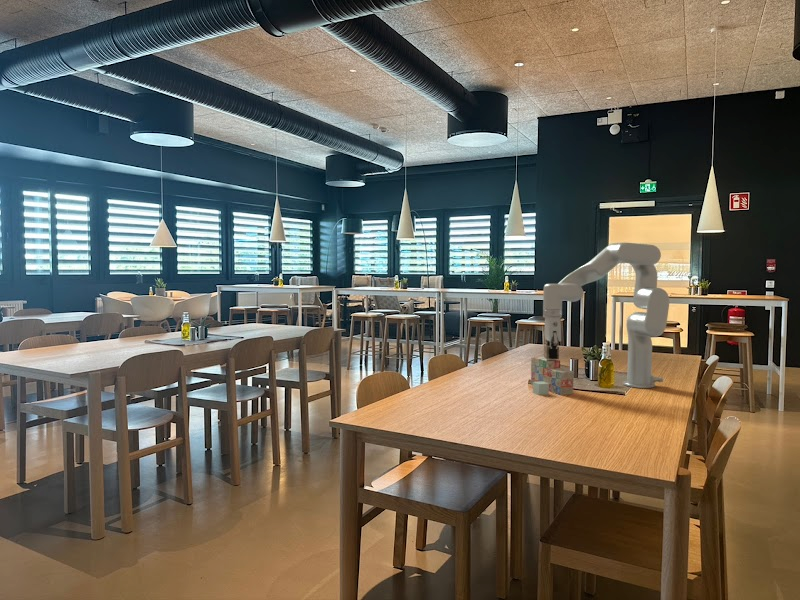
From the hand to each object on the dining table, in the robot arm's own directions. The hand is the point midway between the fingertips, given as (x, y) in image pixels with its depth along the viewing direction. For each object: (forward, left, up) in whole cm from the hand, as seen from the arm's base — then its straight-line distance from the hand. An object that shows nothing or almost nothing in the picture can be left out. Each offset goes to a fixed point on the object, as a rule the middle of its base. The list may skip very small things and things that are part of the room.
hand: (551, 357), depth 234 cm
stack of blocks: (0, 0, -14) cm, 14 cm away
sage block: (+6, +9, -14) cm, 17 cm away
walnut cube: (0, 0, -1) cm, 1 cm away
